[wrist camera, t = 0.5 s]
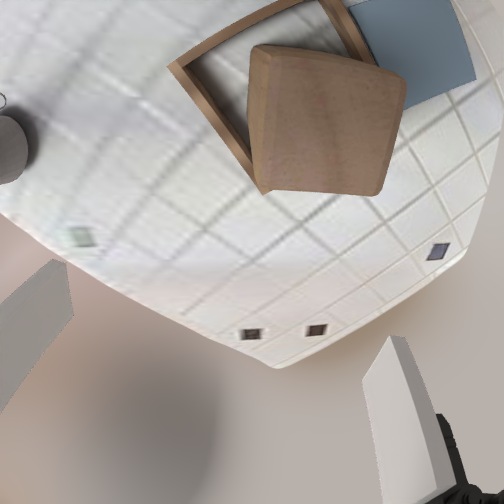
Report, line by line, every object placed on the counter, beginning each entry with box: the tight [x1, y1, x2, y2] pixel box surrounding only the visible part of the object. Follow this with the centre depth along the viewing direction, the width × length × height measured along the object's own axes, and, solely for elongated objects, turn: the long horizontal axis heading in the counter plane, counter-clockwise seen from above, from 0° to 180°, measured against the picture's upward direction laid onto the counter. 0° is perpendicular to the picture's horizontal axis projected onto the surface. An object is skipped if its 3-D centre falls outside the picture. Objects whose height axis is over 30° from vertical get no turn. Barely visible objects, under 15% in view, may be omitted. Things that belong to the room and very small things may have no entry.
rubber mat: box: [348, 0, 476, 110], centre depth 28 cm, size 16×16×1 cm
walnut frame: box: [167, 0, 375, 195], centre depth 32 cm, size 20×20×4 cm
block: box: [247, 44, 407, 197], centre depth 26 cm, size 10×10×20 cm
